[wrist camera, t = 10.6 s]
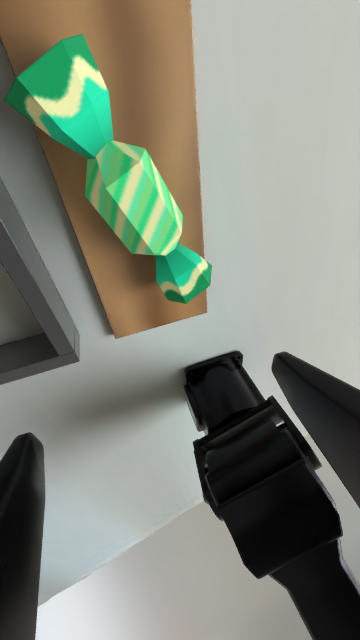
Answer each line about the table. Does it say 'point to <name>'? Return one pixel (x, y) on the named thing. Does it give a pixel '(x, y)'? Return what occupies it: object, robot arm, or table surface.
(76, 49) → the candy
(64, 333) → the dark grey tray
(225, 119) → the table surface
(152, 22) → the brown wooden board
